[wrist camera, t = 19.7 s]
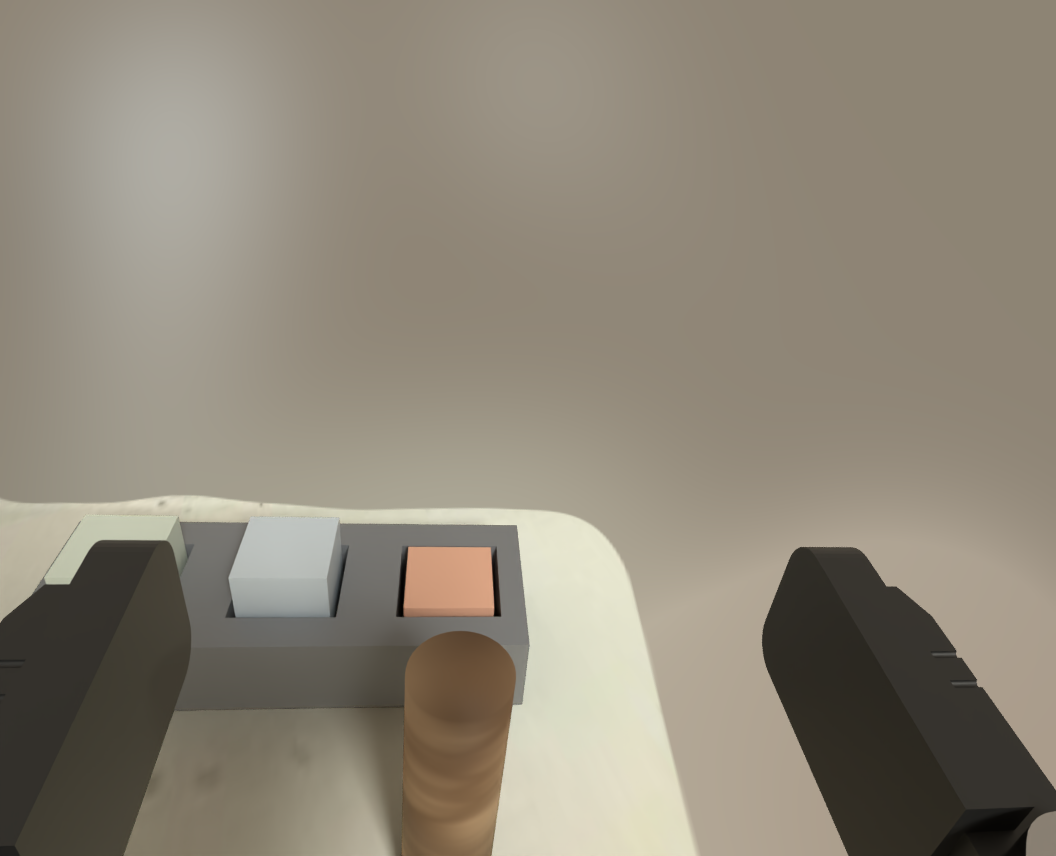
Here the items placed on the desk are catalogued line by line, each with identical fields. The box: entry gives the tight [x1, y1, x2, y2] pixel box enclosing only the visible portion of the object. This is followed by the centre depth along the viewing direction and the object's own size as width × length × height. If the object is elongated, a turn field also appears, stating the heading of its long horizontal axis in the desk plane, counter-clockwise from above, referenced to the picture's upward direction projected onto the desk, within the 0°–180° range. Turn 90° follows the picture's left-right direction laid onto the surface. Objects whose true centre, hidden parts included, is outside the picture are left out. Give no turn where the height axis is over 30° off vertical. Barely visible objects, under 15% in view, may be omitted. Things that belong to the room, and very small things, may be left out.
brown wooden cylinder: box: [401, 631, 516, 856], centre depth 30 cm, size 4×4×14 cm
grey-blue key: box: [228, 517, 343, 618], centre depth 42 cm, size 5×5×4 cm
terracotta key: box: [404, 547, 494, 617], centre depth 44 cm, size 5×5×4 cm
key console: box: [32, 521, 529, 710], centre depth 44 cm, size 27×10×5 cm, turn 95°
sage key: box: [44, 515, 188, 584], centre depth 41 cm, size 5×5×4 cm
